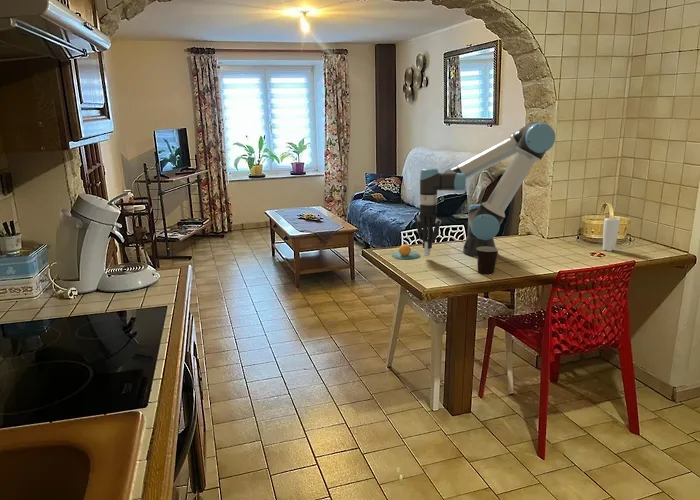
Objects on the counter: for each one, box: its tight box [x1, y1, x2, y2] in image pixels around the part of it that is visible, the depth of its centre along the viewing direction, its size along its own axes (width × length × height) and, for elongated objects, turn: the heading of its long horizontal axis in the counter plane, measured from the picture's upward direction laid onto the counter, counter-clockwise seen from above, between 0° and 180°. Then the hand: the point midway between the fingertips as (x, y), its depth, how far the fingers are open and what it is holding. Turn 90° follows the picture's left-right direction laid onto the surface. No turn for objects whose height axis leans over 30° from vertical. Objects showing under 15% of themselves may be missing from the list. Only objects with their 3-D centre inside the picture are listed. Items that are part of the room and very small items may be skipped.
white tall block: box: [602, 217, 621, 252], centre depth 246 cm, size 7×7×15 cm
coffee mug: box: [476, 246, 499, 276], centre depth 218 cm, size 12×9×10 cm
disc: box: [391, 251, 421, 261], centre depth 244 cm, size 13×13×1 cm
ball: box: [398, 244, 412, 256], centre depth 243 cm, size 6×6×6 cm
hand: (427, 255), depth 237 cm, fingers closed
